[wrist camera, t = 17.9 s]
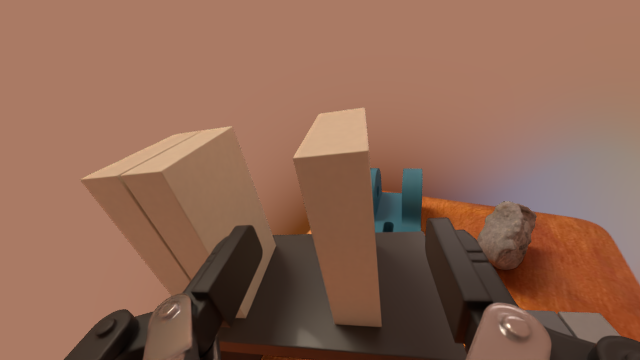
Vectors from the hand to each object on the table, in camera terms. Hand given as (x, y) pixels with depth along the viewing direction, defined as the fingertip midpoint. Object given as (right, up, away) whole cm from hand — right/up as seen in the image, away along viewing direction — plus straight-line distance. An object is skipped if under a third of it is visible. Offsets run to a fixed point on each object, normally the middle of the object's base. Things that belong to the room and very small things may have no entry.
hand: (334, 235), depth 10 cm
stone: (+26, -9, +22) cm, 35 cm away
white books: (-8, -6, +9) cm, 13 cm away
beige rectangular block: (+2, -5, +7) cm, 9 cm away
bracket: (+12, -7, +31) cm, 34 cm away
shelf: (+1, -18, +15) cm, 24 cm away
